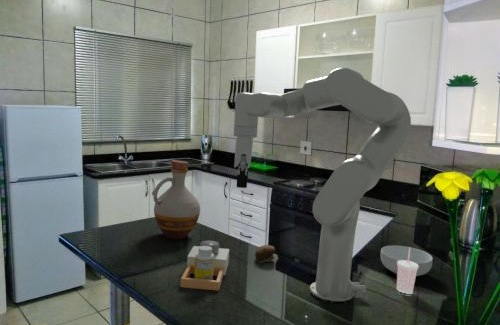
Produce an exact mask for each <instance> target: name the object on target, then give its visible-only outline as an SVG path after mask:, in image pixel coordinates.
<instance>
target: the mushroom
mask: <svg viewBox="0 0 500 325" xmlns="http://www.w3.org/2000/svg"><path fill="white" fill-rule="evenodd" d="M275 252H276V247H274V246H273V245H270V244H264V245H261V246H259V247H258V248H257V249H256V251H255V254H254V256H255V261H257V263H265V262H271V261H273V260H274V259H275V258H276V256H274V255H275Z"/></svg>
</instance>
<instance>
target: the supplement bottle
mask: <svg viewBox="0 0 500 325" xmlns="http://www.w3.org/2000/svg"><path fill="white" fill-rule="evenodd" d="M199 246H200V245H199ZM213 270H214V254H213V253H212V247H210V246H200V247H199V251H198V253H197V254H196V257H195V274H193V275H194V277H193V278H195V279H206V280H214V276H213Z"/></svg>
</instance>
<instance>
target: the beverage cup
mask: <svg viewBox="0 0 500 325" xmlns="http://www.w3.org/2000/svg"><path fill="white" fill-rule="evenodd" d="M408 247H409V252H408V260H399V261H397V265H398V272H397V274H396V289H397V290H398V291H399V292H402V293H406V294H412V295H413V293H414V286H415V283H416V277H417V276H416V273H417V269H418V267H419V265H418V264H417V263H414V262H412V261H409V258H410V250H411V248H412V247H411V248H410V246H408Z"/></svg>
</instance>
